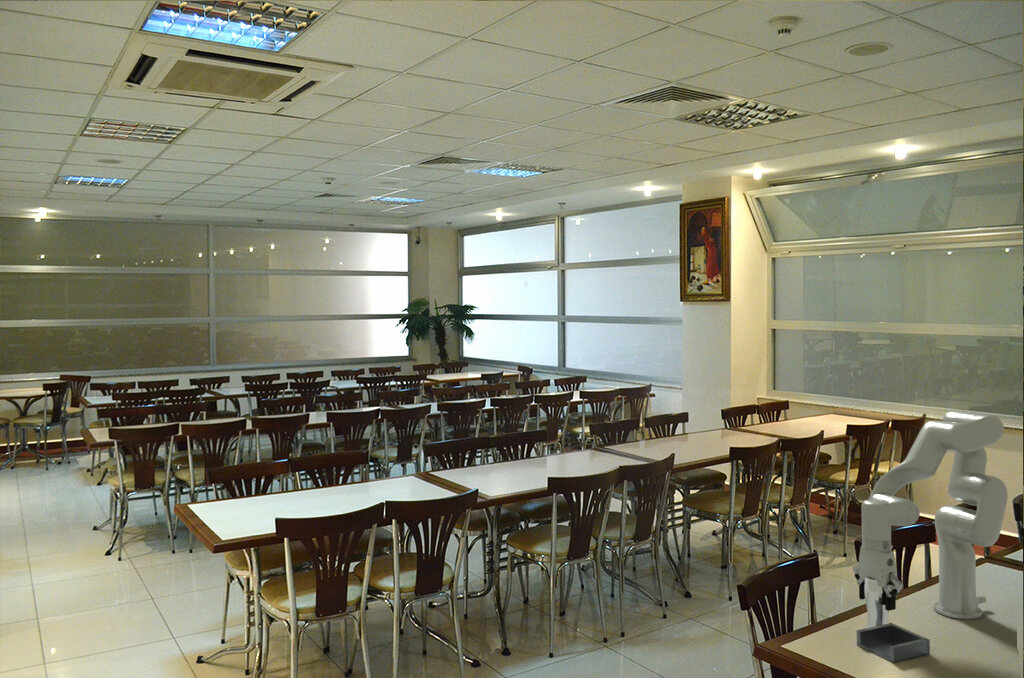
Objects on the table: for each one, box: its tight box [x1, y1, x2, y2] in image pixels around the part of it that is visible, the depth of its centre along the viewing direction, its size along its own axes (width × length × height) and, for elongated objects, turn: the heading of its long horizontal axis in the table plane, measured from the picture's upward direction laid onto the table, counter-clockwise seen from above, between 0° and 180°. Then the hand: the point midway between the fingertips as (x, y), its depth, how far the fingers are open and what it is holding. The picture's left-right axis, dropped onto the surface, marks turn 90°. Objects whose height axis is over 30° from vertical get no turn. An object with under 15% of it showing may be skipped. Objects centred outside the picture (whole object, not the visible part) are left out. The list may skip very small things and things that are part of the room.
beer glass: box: [864, 576, 891, 628], centre depth 223 cm, size 7×7×15 cm
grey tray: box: [856, 622, 931, 664], centre depth 210 cm, size 12×12×4 cm
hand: (877, 604), depth 223 cm, fingers open, 9 cm apart
